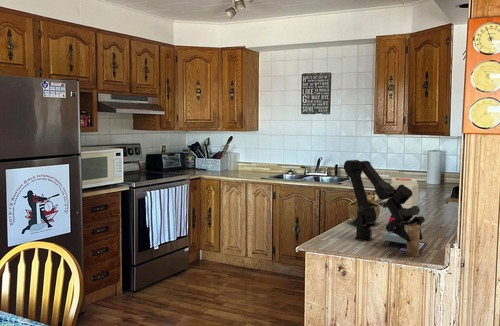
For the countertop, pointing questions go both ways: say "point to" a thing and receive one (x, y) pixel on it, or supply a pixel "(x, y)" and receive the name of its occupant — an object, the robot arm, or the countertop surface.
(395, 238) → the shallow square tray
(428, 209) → the countertop surface
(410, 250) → the walnut post
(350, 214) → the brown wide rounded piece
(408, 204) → the cream watering can
